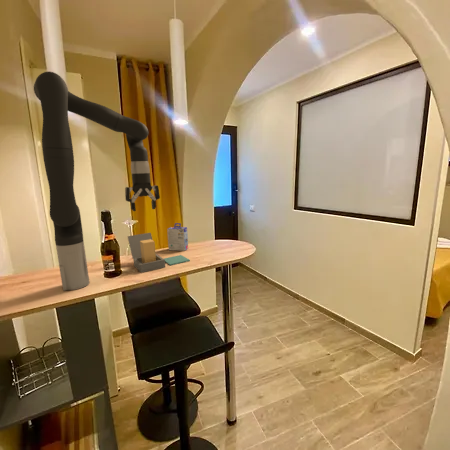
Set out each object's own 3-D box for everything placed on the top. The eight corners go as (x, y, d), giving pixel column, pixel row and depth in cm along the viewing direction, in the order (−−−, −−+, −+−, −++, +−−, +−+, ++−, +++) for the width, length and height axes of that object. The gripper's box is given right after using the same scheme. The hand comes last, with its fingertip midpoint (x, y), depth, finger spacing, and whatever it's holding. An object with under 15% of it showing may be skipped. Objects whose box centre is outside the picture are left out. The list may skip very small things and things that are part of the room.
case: (141, 272, 117) (140, 264, 117) (134, 265, 126) (133, 258, 126) (165, 267, 123) (164, 259, 122) (157, 260, 132) (156, 253, 132)
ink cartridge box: (188, 248, 152) (187, 222, 149) (185, 251, 147) (183, 224, 144) (172, 247, 154) (170, 222, 151) (168, 250, 149) (166, 224, 146)
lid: (127, 235, 129) (127, 237, 130) (133, 258, 126) (132, 259, 127) (150, 232, 135) (149, 233, 136) (156, 253, 132) (155, 254, 133)
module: (145, 269, 121) (143, 243, 119) (142, 266, 125) (139, 241, 123) (156, 266, 124) (154, 241, 122) (153, 263, 128) (150, 239, 126)
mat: (170, 265, 125) (170, 264, 125) (162, 260, 133) (162, 258, 133) (189, 261, 130) (189, 259, 130) (181, 256, 138) (181, 254, 138)
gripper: (125, 173, 110) (129, 212, 113) (159, 171, 117) (162, 209, 120) (121, 173, 116) (125, 211, 119) (154, 172, 123) (156, 207, 126)
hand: (144, 210), depth 120 cm, fingers open, 8 cm apart
